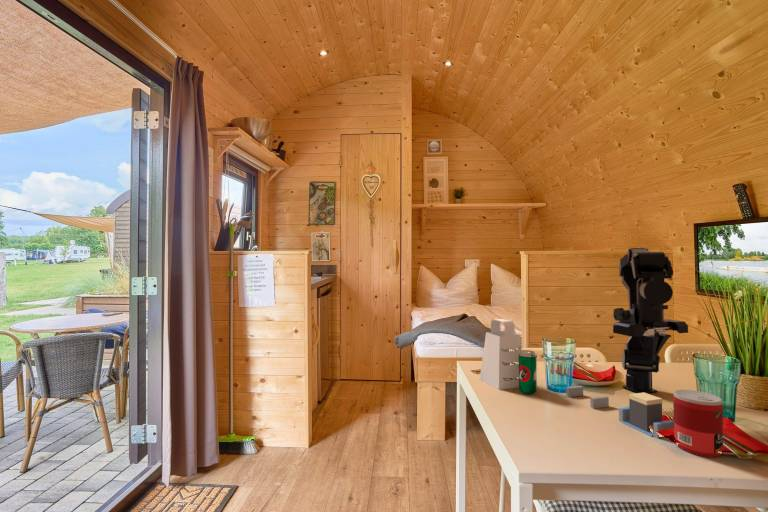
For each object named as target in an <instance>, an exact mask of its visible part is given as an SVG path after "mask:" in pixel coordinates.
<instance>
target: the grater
mask: <svg viewBox="0 0 768 512" xmlns="http://www.w3.org/2000/svg"><path fill="white" fill-rule="evenodd" d="M501 322H502V323H503V325H504V330H502V329H501ZM515 330H516V329H515V323H514V321H513V320H509V319H505V318H493V319H491V321H490V331H486V332H485V338H484V344H483V345H484V346H483V353H482V359H481V366H480V375H479V381H481V382H483V383H485V384H486V385H489V386H491V387H493V388H495V389H497V390H498V391H499V390H508V389H514V388H519V363H518V355H519V353H520V351H521V350H523V348H522V343H521V335H520V334H518V333H515V332H516V331H515ZM511 378H512V379H511ZM506 379H511V380H506ZM513 379H514V380H513Z"/></svg>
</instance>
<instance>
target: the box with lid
mask: <svg viewBox="0 0 768 512" xmlns="http://www.w3.org/2000/svg"><path fill="white" fill-rule="evenodd" d="M628 399H629V402H628V403H629V405H628V407H629V408H630V424H631V425H633V426H635V427H638V428H640V429H642V430H644V431H646V432H649V431H650V428H649V426H650V425H652V424H653V423H654V422H661V421H663V398H661V397H658V396H655V395H654V394H653V395H652V394H651V393H645V392H643V393H636V392H634V393H629V394H628Z"/></svg>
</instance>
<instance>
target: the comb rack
mask: <svg viewBox="0 0 768 512" xmlns="http://www.w3.org/2000/svg"><path fill="white" fill-rule="evenodd" d="M565 389H566V390H565V396H566V398H567V397H568V398H572V397H581V396H584V386H582V385H574V386H566V388H565ZM589 399H590V408H591V409H593V410H594V409H599V408H607V407H609V405H610V403H609V402H610V400H609V399H610V398H609V396H606V395H601V396H594V397H593V396H592V397H589ZM618 421H619V422H621V424H623V425H626V426H628V427H630V428H633V429H634V430H636V431H639V432H642V433H644V434H646V435H648V436H650V437H654V438H656V439H660V438H659V435H658V434H657V433H656V432H655V431H657V432H658V431H661V430H667V429H673V428H674V420H671V419H669V420H662V421H661V422H654V423H653V433H652V432H651V431H649V432H646V431H644V430H642V429H640V428H638V427H635V426H633V425H631V424H630V408H629V406H624V407H618Z"/></svg>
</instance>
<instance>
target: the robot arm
mask: <svg viewBox="0 0 768 512" xmlns="http://www.w3.org/2000/svg"><path fill="white" fill-rule="evenodd" d="M673 275H674V269H673V266H672V262H671V260H670V259H669V257H668V256H667V255H666V253H665V252H664V251H649V249H648V248H646V247H630V248H628V249H627V253H626V254H625V255H624V256H623V257H621V258H620V259H619V264H618V276H619V277H620V278H621V284H622V285H623V287H625V289H626V290H627V296H628V300H627V301H628V309H625V308H623V307H617V308H614V309H613V312H612V314H613V319H614V321H616V322H615V323H613V325H612V333H613V334H617V335H622V336H627V337H629V338H628V339H627V342H626V343H625V345H624V348H623V349H622V350H623V351H622V357H621V365H622V366H621V367H622V368H623V370H626V373H625V385H622V386H621V387H622V388H623V389H626V390H628V391H632V392H634V393H643V392H645V393H647V394H653V393H657V392H658V390H657V389H655V388H653V373H658V372H660V367H659V366H660V362H661V361H660V360H661V357H660V355H659V353H660V351H661V350H662V348H664V346H665V345H666V342H667V341H668V340H669V338H672V335H671V334H667V331H675V332H677V333H678V334H688V333H689V324H687V322H686V321H684V320H677V319H669V318H668V319H667V318H664V317H665V310H669V305H668V304H667V303H668V302H669V301H671V300H672V297H673V295H674V290H673V288H672V286H671V285H670V284H669V283H668V282H666V281H665V279H671V280H672V278H673Z"/></svg>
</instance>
